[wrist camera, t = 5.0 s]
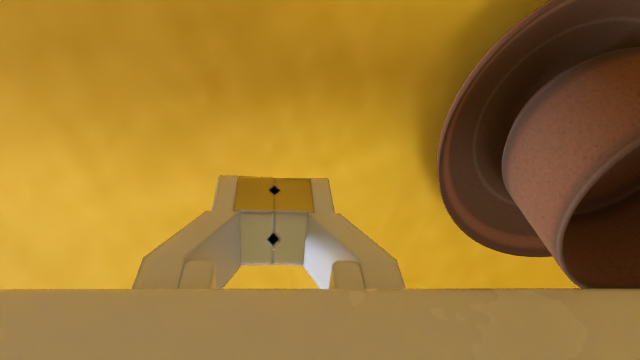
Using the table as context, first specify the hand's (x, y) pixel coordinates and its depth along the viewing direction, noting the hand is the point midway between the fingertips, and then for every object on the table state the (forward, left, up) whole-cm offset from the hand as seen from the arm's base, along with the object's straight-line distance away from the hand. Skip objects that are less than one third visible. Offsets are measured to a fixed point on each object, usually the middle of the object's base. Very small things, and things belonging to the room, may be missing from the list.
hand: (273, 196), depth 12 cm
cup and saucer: (0, +12, -6) cm, 13 cm away
